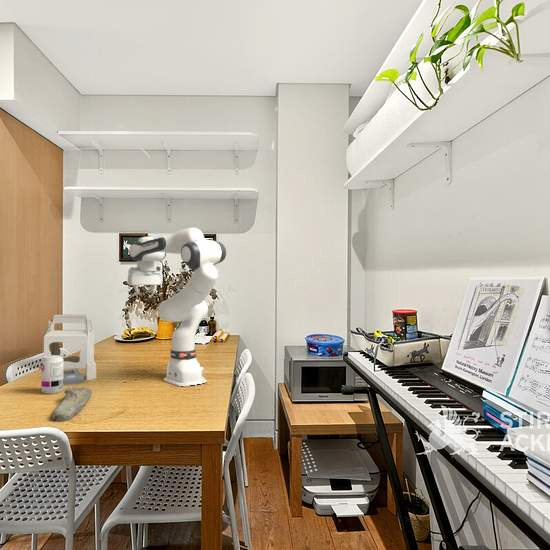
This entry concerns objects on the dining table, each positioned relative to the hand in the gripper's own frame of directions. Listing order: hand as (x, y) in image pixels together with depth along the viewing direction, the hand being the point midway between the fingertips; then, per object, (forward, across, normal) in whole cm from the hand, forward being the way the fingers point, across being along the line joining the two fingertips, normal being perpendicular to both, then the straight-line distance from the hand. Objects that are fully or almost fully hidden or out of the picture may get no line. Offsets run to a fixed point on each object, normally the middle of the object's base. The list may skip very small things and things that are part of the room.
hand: (145, 293), depth 224 cm
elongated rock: (+41, -55, -29) cm, 74 cm away
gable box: (+40, -20, +37) cm, 58 cm away
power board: (+40, -35, +11) cm, 54 cm away
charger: (+40, -28, +4) cm, 49 cm away
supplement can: (+40, -50, -4) cm, 65 cm away
